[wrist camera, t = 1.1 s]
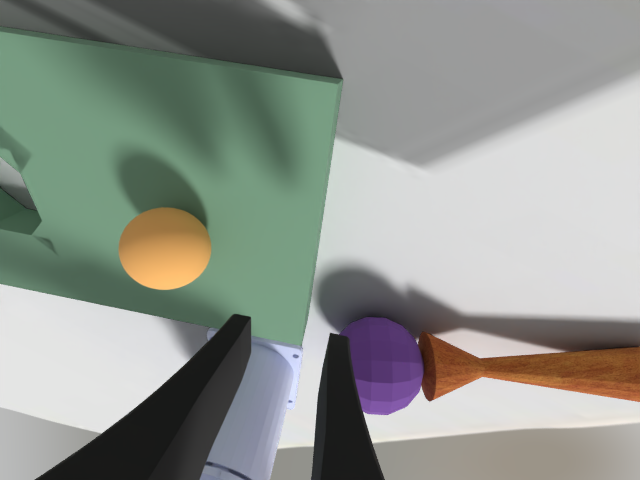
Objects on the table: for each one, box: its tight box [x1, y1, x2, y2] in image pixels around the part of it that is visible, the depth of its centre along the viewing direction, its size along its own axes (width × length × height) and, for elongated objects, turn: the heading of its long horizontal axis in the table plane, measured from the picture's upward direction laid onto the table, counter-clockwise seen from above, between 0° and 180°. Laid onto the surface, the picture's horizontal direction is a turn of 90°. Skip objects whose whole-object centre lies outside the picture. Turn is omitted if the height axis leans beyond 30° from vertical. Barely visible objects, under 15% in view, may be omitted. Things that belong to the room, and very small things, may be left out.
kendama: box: [339, 317, 640, 415], centre depth 19 cm, size 6×6×20 cm
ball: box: [118, 207, 211, 290], centre depth 14 cm, size 4×4×4 cm
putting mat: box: [0, 26, 343, 346], centre depth 17 cm, size 16×24×2 cm, turn 83°
